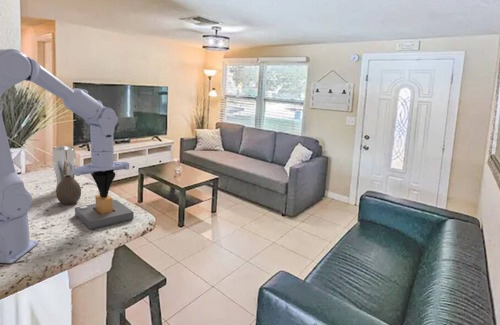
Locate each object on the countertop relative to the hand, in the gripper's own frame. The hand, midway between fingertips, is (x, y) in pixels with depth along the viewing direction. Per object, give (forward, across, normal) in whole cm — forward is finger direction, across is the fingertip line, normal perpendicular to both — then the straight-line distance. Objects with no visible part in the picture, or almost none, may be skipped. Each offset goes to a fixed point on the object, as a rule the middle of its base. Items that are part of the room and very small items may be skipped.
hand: (103, 196), depth 94 cm
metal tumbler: (+7, +1, -30) cm, 30 cm away
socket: (+6, 0, 0) cm, 6 cm away
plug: (+6, 0, 0) cm, 6 cm away
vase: (+7, +4, -17) cm, 19 cm away
